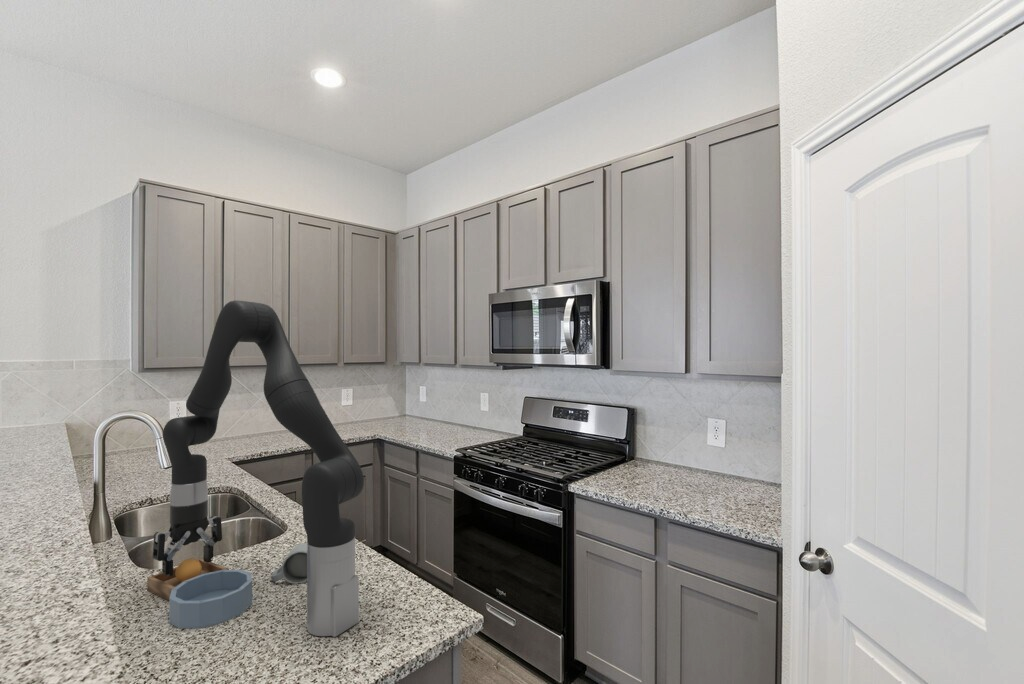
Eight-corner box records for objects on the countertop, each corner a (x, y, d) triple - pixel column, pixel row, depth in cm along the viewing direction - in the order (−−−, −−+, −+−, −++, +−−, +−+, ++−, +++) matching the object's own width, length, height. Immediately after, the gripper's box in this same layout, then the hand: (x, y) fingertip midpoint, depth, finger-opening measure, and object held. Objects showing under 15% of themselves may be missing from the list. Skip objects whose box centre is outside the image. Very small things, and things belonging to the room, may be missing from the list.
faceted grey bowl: (266, 601, 108) (266, 578, 108) (194, 636, 95) (194, 610, 95) (227, 585, 115) (227, 564, 115) (155, 615, 102) (155, 591, 102)
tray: (228, 581, 118) (228, 568, 118) (174, 603, 107) (174, 590, 107) (201, 570, 123) (201, 558, 124) (147, 590, 113) (147, 577, 113)
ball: (206, 579, 116) (206, 557, 116) (182, 588, 112) (182, 566, 112) (194, 574, 119) (194, 553, 119) (170, 583, 114) (170, 561, 114)
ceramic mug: (319, 567, 125) (318, 537, 125) (316, 581, 117) (315, 549, 117) (274, 573, 122) (273, 542, 122) (267, 588, 114) (267, 556, 114)
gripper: (164, 511, 108) (163, 584, 107) (228, 494, 120) (228, 560, 120) (147, 505, 111) (146, 577, 111) (211, 490, 124) (210, 554, 123)
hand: (188, 568), depth 115 cm, fingers open, 8 cm apart
